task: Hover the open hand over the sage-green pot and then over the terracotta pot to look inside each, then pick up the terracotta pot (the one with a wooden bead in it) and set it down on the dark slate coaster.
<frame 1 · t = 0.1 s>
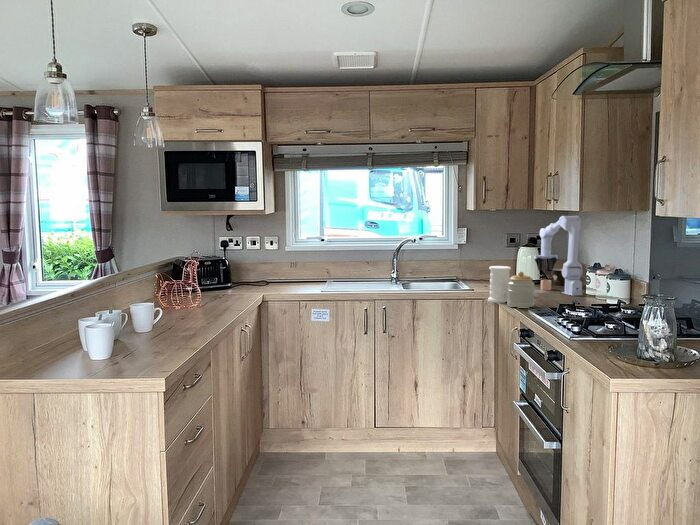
hand: (545, 270, 332), 10 cm above the worktop, tool pointing down, fingers open, 7 cm apart
decorative container: (499, 301, 288), on the worktop
jar: (520, 306, 272), on the worktop
bead: (545, 289, 320), point 1 cm above the worktop, touching pot terracotta
pot terracotta: (545, 290, 320), on the worktop, touching bead
pot sage: (520, 291, 317), on the worktop
coaster: (538, 292, 312), on the worktop
coffee mug: (558, 285, 337), on the worktop
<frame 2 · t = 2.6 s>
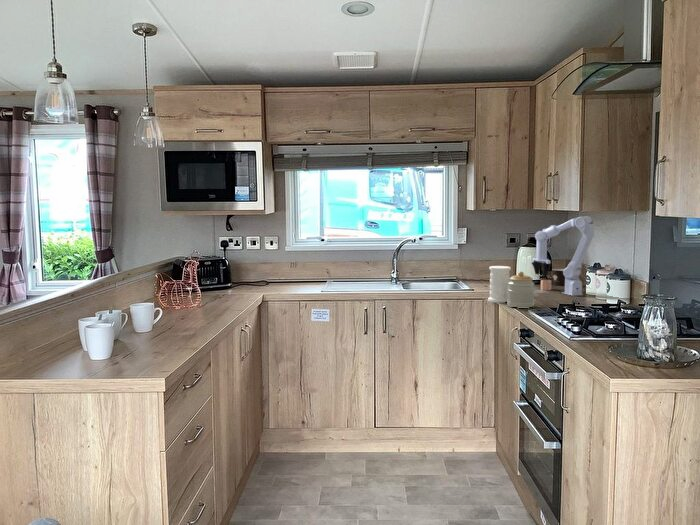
hand: (541, 274, 318), 9 cm above the worktop, tool pointing down, fingers open, 7 cm apart
nothing on the worktop moved.
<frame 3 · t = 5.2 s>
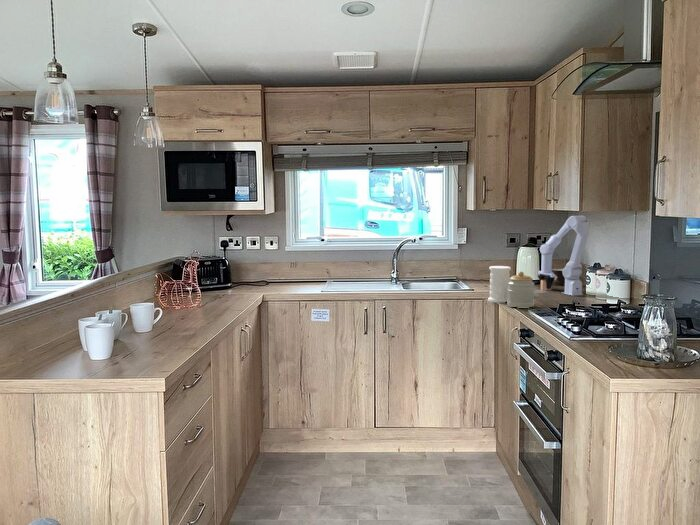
hand: (545, 287, 320), 1 cm above the worktop, tool pointing down, fingers closed on pot terracotta, 5 cm apart
bead: (545, 289, 320), point 1 cm above the worktop, tilted 14°, touching pot terracotta
pot terracotta: (545, 290, 320), on the worktop, touching bead, gripper
everything else where it was.
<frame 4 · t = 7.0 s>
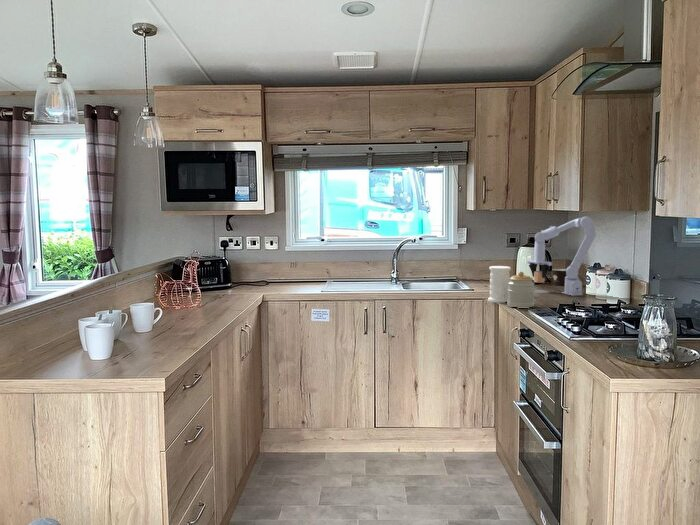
hand: (538, 277, 312), 9 cm above the worktop, tool pointing down, fingers closed on pot terracotta, 5 cm apart
bead: (539, 280, 312), point 7 cm above the worktop, tilted 23°, touching pot terracotta
pot terracotta: (539, 281, 312), point 6 cm above the worktop, touching bead, gripper
everything else where it was.
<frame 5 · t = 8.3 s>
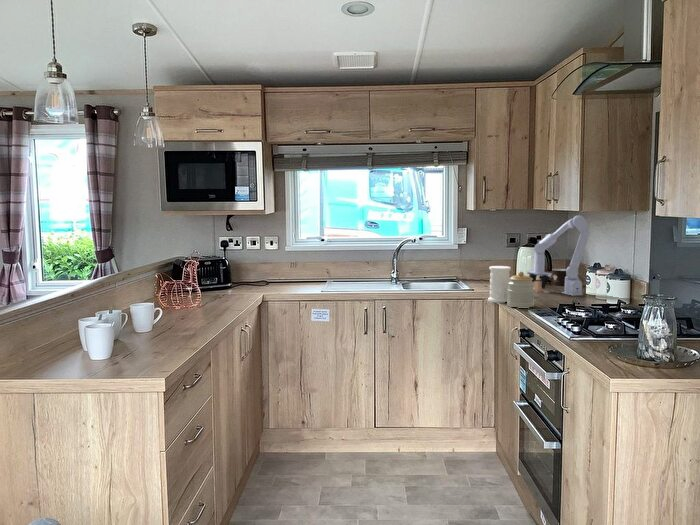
hand: (538, 287, 312), 3 cm above the worktop, tool pointing down, fingers closed on pot terracotta, 5 cm apart
bead: (538, 290, 313), point 1 cm above the worktop, tilted 16°, touching pot terracotta
pot terracotta: (538, 291, 313), point 1 cm above the worktop, touching bead, coaster, gripper
everything else where it was.
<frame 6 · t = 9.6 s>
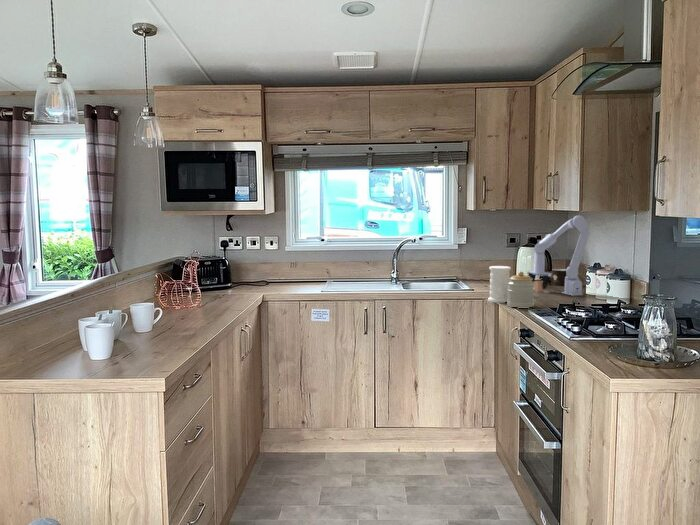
hand: (538, 287, 312), 3 cm above the worktop, tool pointing down, fingers open, 7 cm apart
pot terracotta: (538, 291, 313), point 1 cm above the worktop, touching bead, coaster
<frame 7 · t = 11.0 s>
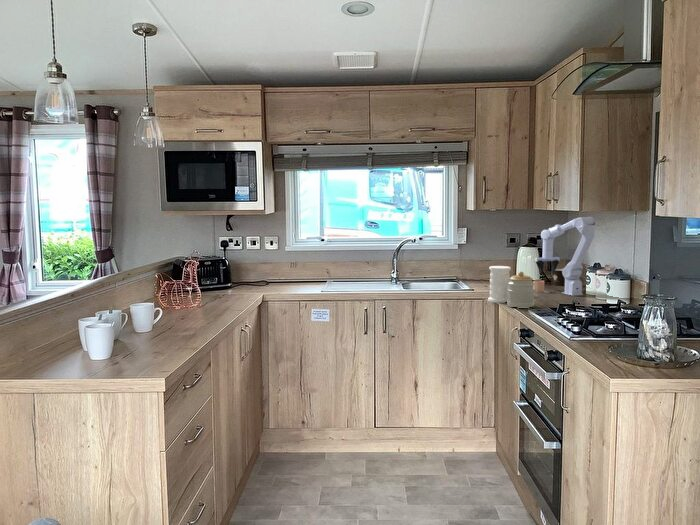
hand: (547, 273, 320), 10 cm above the worktop, tool pointing down, fingers open, 7 cm apart
nothing on the worktop moved.
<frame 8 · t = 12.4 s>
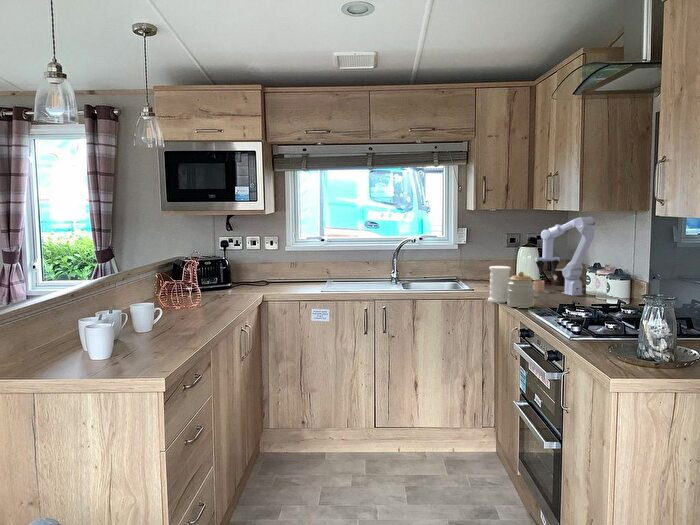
hand: (547, 273, 320), 10 cm above the worktop, tool pointing down, fingers open, 7 cm apart
at the end: pot terracotta inside the target area on the coaster (0.2 cm from its centre), point 0.6 cm above the coaster's base; pot terracotta tilted 0°; the gripper is holding nothing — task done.
